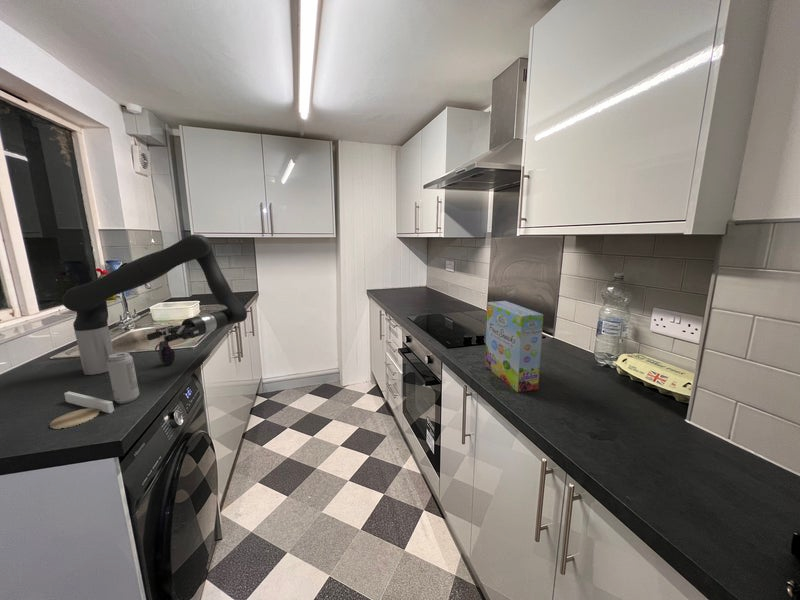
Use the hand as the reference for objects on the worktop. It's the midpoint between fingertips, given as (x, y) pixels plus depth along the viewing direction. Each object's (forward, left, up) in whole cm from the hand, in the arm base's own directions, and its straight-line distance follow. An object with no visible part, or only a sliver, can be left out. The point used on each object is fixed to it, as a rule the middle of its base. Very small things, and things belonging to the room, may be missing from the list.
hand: (156, 338), depth 108 cm
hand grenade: (-16, +13, -17) cm, 27 cm away
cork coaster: (-2, -23, -17) cm, 29 cm away
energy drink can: (0, -11, -17) cm, 20 cm away
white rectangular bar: (-7, -18, -17) cm, 25 cm away
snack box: (+114, +42, -17) cm, 122 cm away
